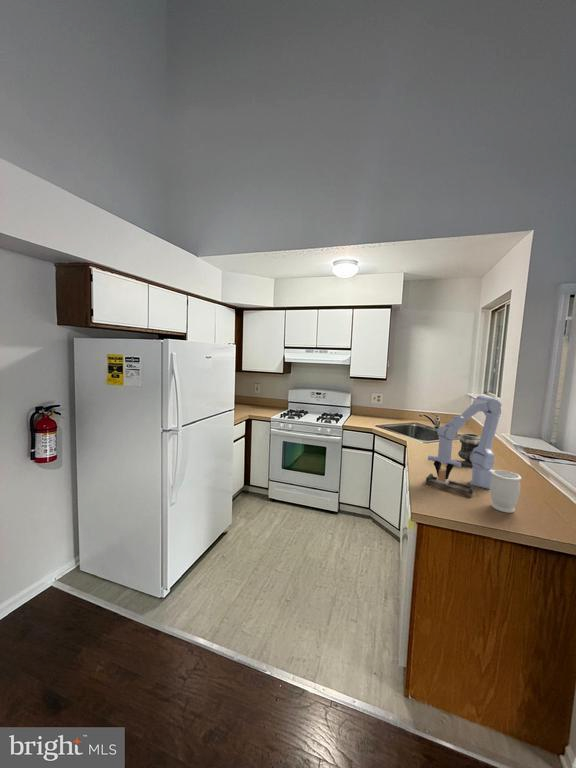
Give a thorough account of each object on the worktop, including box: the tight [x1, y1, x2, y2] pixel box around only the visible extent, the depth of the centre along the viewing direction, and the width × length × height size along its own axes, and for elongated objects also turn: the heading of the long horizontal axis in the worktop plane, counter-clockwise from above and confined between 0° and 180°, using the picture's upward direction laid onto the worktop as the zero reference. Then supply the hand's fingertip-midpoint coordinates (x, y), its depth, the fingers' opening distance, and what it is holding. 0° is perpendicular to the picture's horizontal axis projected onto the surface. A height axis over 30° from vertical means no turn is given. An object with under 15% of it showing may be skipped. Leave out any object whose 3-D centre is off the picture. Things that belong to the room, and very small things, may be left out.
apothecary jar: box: [457, 432, 481, 468], centre depth 186 cm, size 12×12×18 cm
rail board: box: [424, 473, 476, 499], centre depth 152 cm, size 20×9×4 cm, turn 50°
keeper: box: [436, 467, 450, 485], centre depth 154 cm, size 5×5×6 cm
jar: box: [489, 469, 522, 514], centre depth 133 cm, size 11×10×15 cm
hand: (442, 477), depth 154 cm, fingers closed on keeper, 3 cm apart
